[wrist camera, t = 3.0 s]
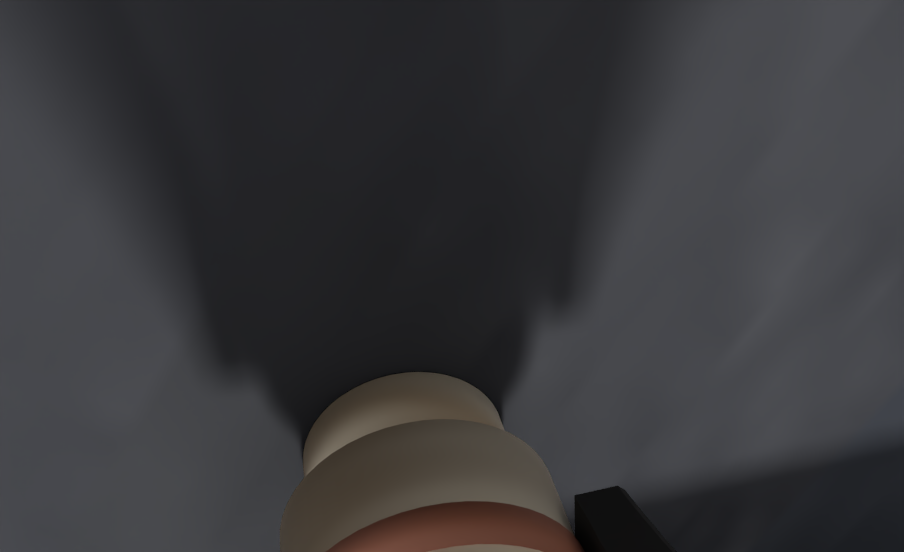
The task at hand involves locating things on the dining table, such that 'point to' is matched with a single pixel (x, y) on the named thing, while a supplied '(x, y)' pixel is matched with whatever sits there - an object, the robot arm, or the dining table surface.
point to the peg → (421, 476)
